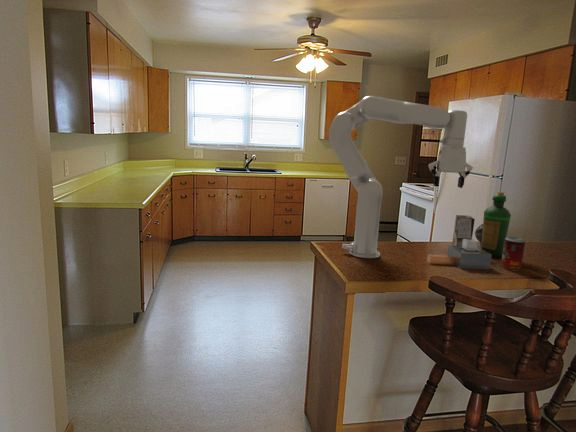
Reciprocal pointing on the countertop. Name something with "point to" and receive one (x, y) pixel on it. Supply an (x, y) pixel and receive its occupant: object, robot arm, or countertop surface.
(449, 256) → the bracket head
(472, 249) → the steel wedge
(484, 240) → the bottle
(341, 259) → the countertop surface
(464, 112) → the robot arm
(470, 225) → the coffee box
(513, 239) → the soda can
